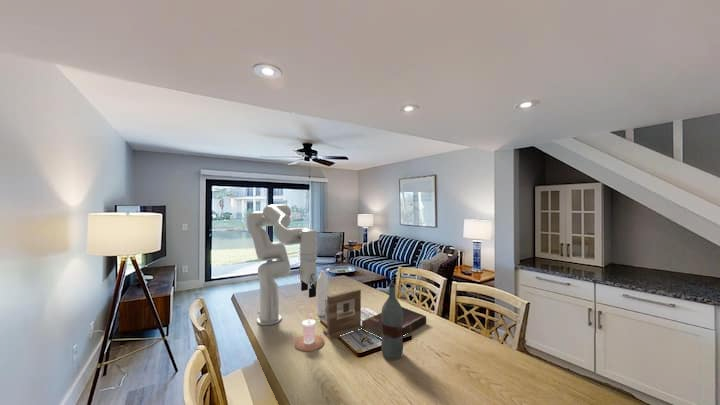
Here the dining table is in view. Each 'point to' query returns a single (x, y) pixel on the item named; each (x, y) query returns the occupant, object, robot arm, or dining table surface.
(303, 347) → the peach round disc
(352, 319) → the mount stand
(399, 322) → the vodka
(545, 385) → the dining table surface
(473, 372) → the dining table surface
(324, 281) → the water bottle
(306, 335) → the beverage cup
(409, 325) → the hardback book
